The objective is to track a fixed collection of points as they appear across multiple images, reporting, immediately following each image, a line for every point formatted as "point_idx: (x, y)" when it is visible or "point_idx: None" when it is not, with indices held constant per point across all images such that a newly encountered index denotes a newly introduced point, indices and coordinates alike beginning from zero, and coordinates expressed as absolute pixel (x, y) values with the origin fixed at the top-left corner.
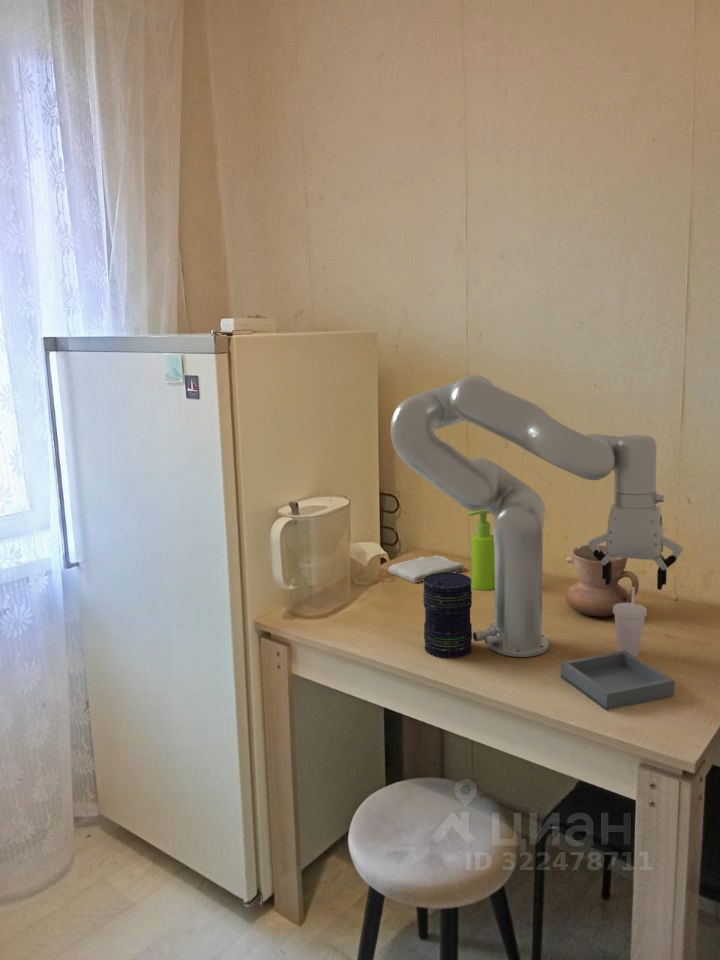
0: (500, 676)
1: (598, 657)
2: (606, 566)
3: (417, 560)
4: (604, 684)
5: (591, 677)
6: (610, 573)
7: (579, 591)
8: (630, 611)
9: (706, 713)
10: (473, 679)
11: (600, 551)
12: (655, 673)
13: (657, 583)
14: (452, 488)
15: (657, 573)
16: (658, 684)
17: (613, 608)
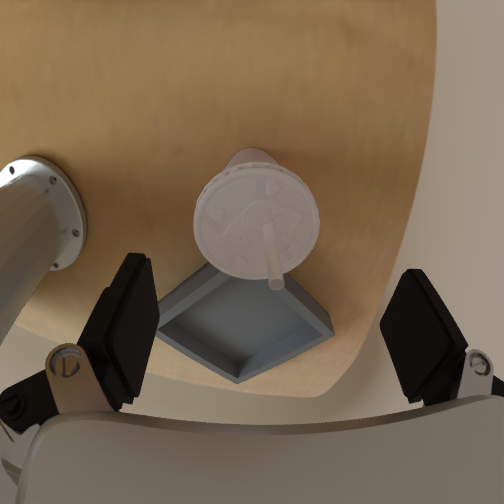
0: (80, 321)
1: (198, 298)
2: (124, 400)
3: None
4: (223, 325)
5: (198, 310)
6: (141, 326)
7: None
8: (261, 258)
9: (360, 337)
10: (63, 333)
11: (32, 422)
12: (308, 321)
13: (387, 345)
14: None
15: (401, 387)
16: (308, 348)
17: (197, 244)
